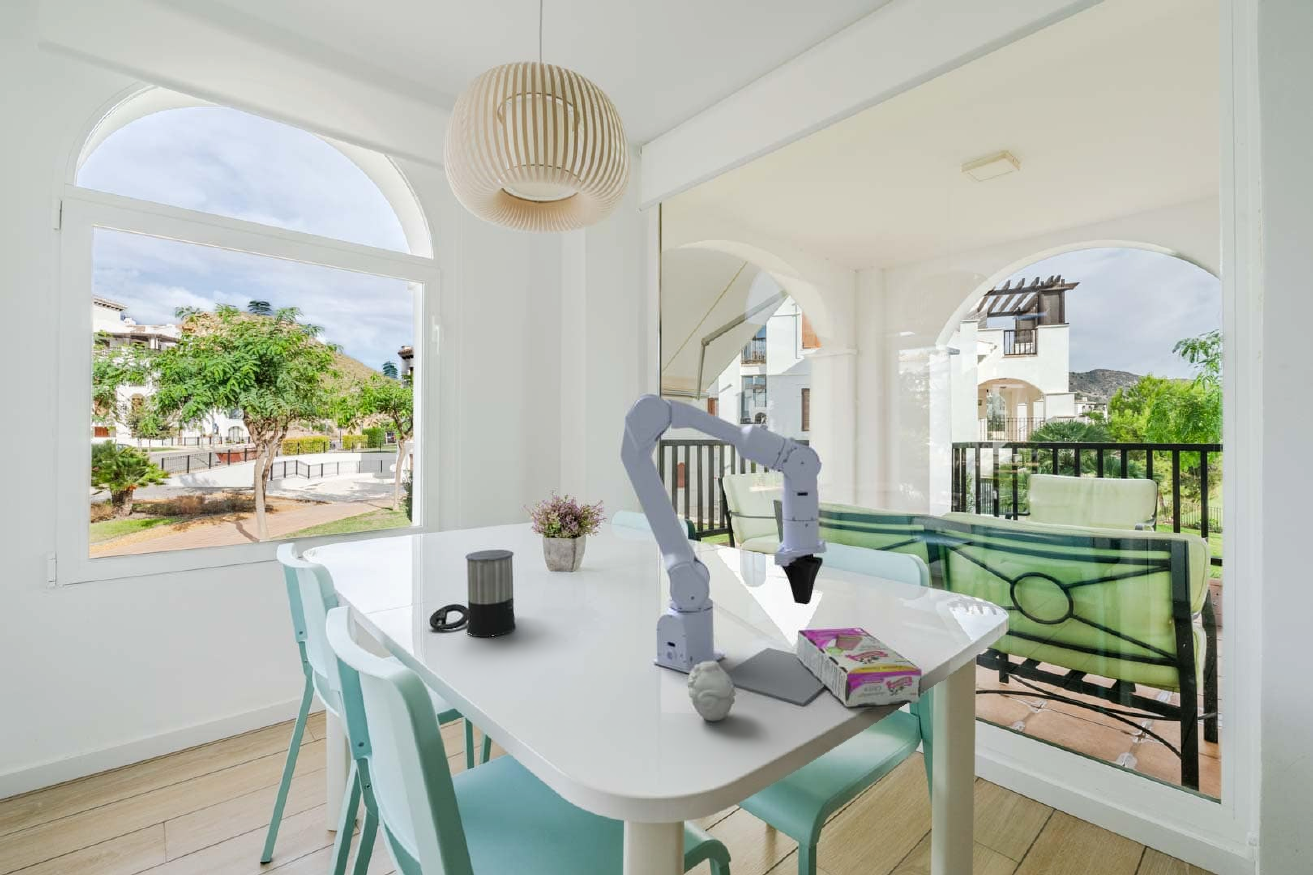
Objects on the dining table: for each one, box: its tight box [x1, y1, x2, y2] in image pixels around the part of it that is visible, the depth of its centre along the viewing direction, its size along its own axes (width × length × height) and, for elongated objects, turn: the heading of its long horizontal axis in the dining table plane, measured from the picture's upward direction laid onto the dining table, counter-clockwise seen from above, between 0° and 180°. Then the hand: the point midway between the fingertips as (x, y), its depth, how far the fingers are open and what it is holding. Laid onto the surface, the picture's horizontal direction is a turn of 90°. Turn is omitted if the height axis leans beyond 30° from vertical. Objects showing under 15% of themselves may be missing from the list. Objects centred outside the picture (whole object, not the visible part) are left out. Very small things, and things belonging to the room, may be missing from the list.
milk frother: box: [429, 549, 517, 637], centre depth 116 cm, size 14×16×15 cm
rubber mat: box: [725, 647, 827, 707], centre depth 90 cm, size 16×14×1 cm
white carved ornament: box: [687, 661, 737, 722], centre depth 77 cm, size 6×7×7 cm
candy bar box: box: [796, 627, 922, 708], centre depth 87 cm, size 11×5×16 cm
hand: (802, 602), depth 96 cm, fingers closed
